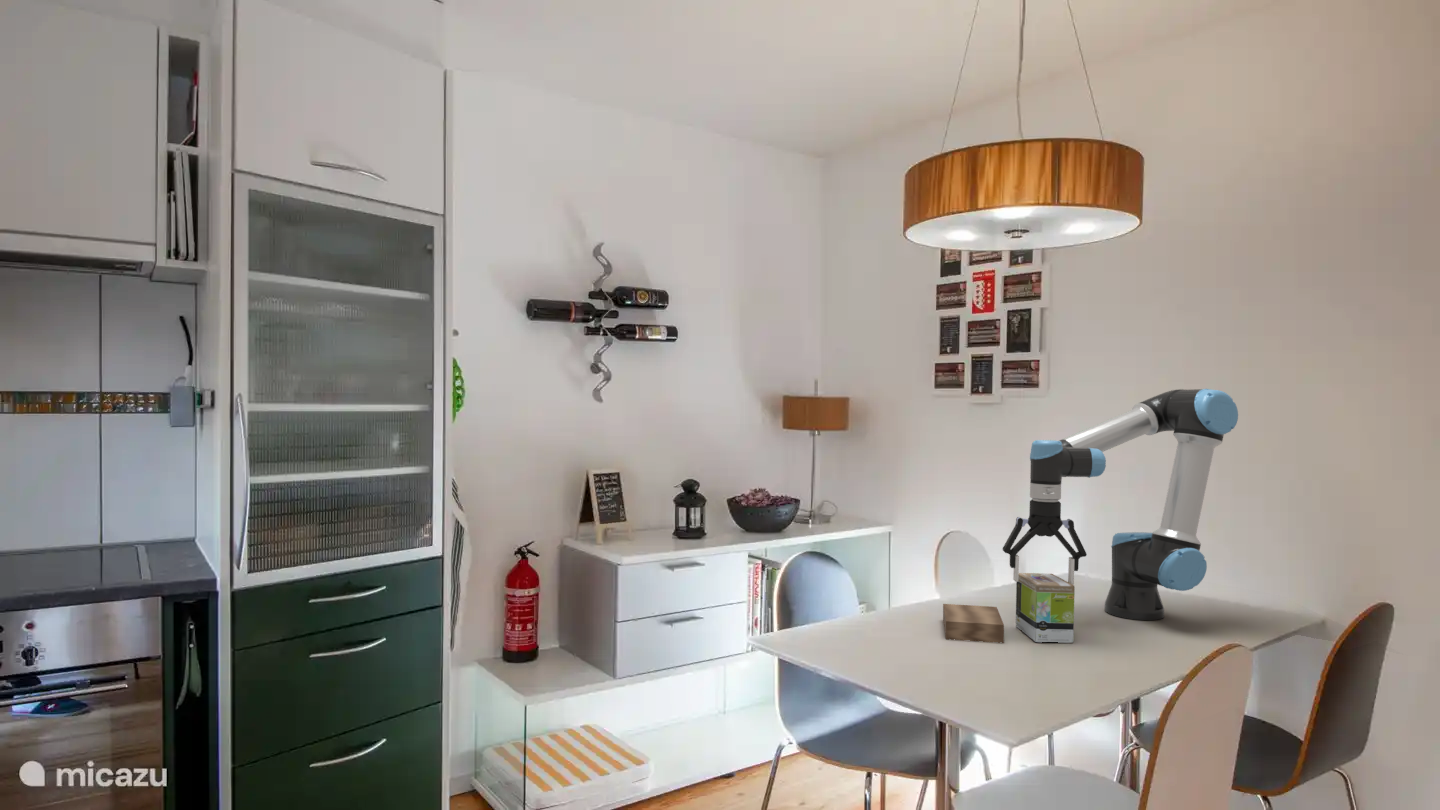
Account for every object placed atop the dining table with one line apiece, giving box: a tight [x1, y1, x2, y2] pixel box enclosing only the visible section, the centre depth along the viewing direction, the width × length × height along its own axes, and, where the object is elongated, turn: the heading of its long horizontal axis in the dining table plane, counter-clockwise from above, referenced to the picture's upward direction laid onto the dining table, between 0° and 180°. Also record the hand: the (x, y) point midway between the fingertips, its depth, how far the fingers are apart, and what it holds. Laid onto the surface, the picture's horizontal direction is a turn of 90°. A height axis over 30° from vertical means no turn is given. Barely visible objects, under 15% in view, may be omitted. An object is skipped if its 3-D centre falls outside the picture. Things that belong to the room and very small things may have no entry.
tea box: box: [1015, 572, 1076, 644], centre depth 215 cm, size 15×10×15 cm
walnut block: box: [942, 603, 1005, 644], centre depth 218 cm, size 14×18×5 cm
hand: (1043, 582), depth 215 cm, fingers open, 13 cm apart
